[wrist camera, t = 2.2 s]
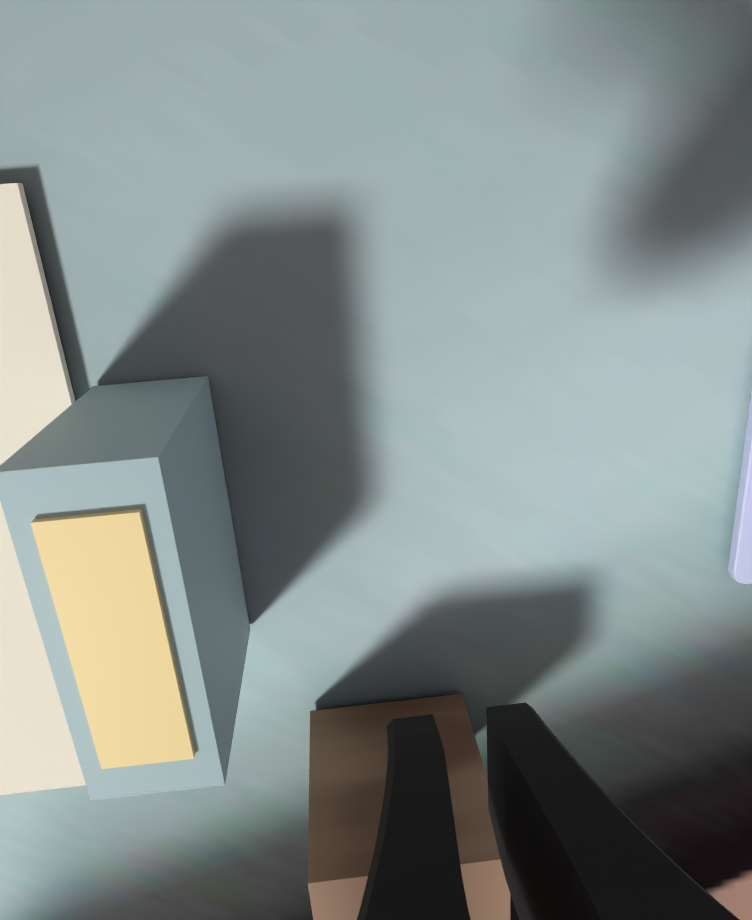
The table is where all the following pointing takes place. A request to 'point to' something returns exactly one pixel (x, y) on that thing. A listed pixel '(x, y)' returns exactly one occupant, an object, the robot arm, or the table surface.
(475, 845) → the walnut bookend
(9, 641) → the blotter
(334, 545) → the table surface
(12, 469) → the blue-grey box
